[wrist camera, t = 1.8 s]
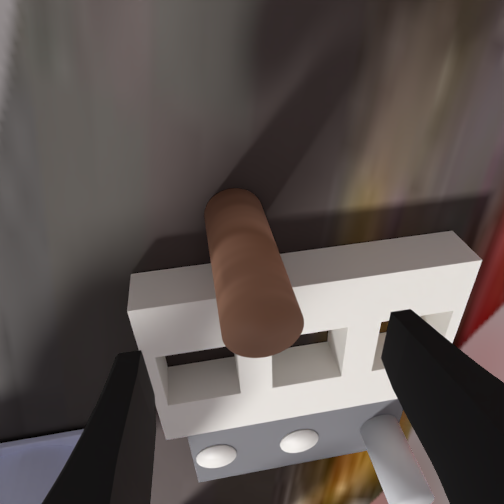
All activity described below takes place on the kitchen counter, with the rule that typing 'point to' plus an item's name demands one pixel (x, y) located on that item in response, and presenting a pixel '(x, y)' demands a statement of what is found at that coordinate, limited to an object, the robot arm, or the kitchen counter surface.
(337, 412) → the studded grey block
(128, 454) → the robot arm
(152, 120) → the kitchen counter surface
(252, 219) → the terracotta pin
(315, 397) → the peg board
